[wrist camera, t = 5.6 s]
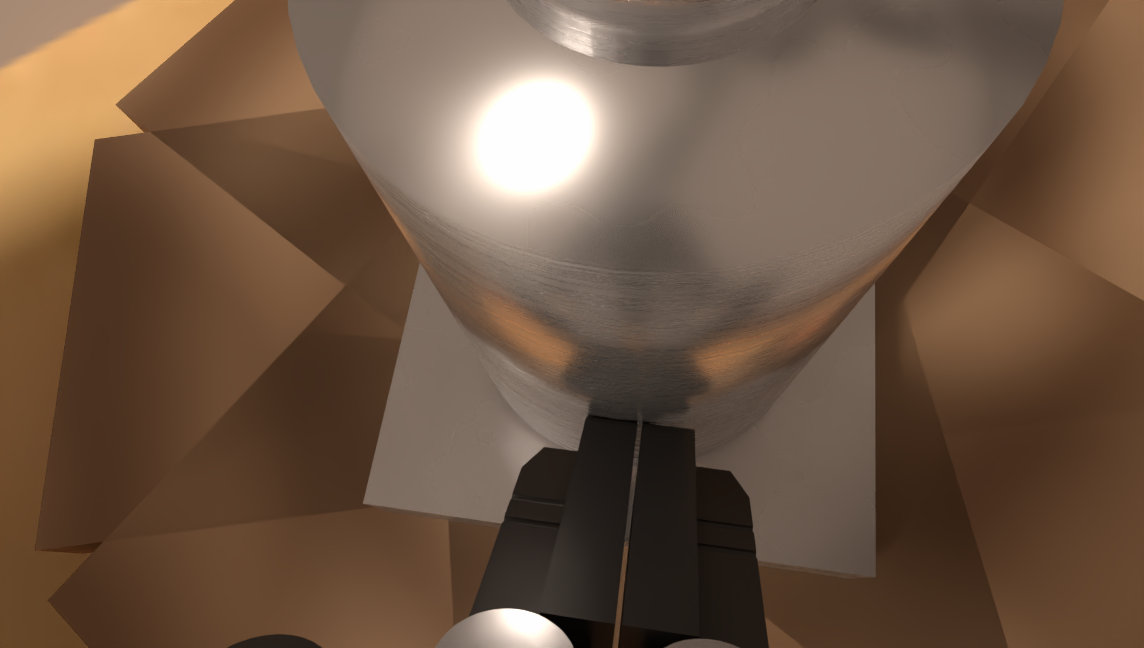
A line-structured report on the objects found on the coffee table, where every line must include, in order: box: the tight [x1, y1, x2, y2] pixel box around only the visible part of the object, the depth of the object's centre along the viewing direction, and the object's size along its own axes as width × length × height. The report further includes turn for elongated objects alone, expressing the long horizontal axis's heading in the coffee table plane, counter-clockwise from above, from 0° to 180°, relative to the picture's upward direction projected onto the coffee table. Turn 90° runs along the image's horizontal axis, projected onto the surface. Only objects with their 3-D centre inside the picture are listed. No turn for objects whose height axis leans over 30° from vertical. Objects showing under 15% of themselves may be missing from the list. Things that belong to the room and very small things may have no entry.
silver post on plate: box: [288, 0, 1064, 579], centre depth 10 cm, size 9×9×11 cm
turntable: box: [35, 0, 1144, 648], centre depth 15 cm, size 27×27×5 cm
